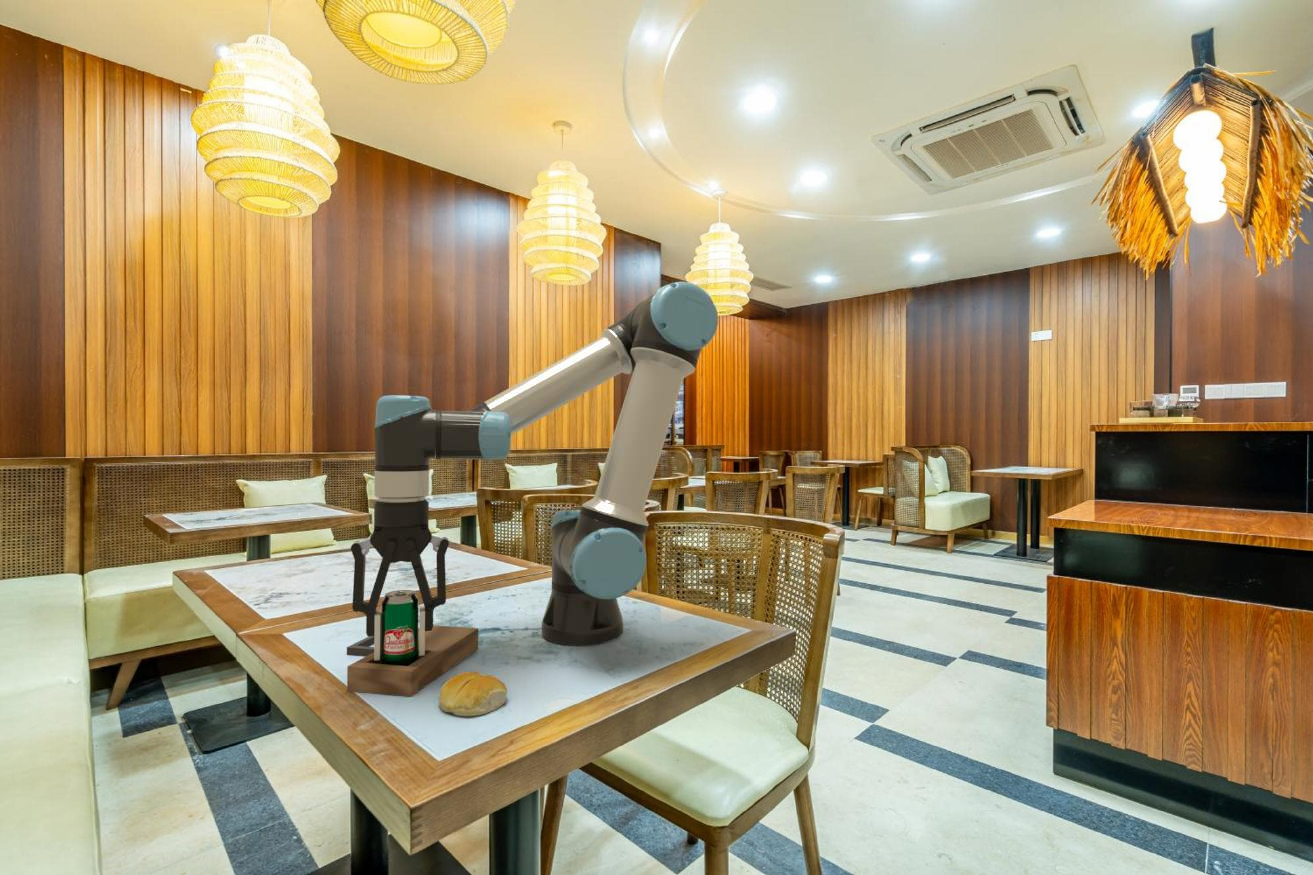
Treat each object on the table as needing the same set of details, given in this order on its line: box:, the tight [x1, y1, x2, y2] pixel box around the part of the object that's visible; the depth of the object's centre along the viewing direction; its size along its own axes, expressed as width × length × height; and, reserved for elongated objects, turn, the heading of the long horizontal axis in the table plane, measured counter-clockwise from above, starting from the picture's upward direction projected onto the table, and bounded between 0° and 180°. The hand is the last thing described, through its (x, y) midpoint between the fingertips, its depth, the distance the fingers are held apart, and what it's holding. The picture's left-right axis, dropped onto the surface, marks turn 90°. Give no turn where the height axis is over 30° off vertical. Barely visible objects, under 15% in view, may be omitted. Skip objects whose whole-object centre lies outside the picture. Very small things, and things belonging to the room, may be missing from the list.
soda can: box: [381, 589, 420, 666], centre depth 90 cm, size 5×5×12 cm
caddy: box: [346, 624, 479, 698], centre depth 95 cm, size 10×20×4 cm, turn 170°
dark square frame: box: [346, 636, 374, 657], centre depth 104 cm, size 9×9×1 cm
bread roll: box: [438, 671, 508, 718], centre depth 83 cm, size 8×9×4 cm
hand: (400, 654), depth 90 cm, fingers open, 5 cm apart
